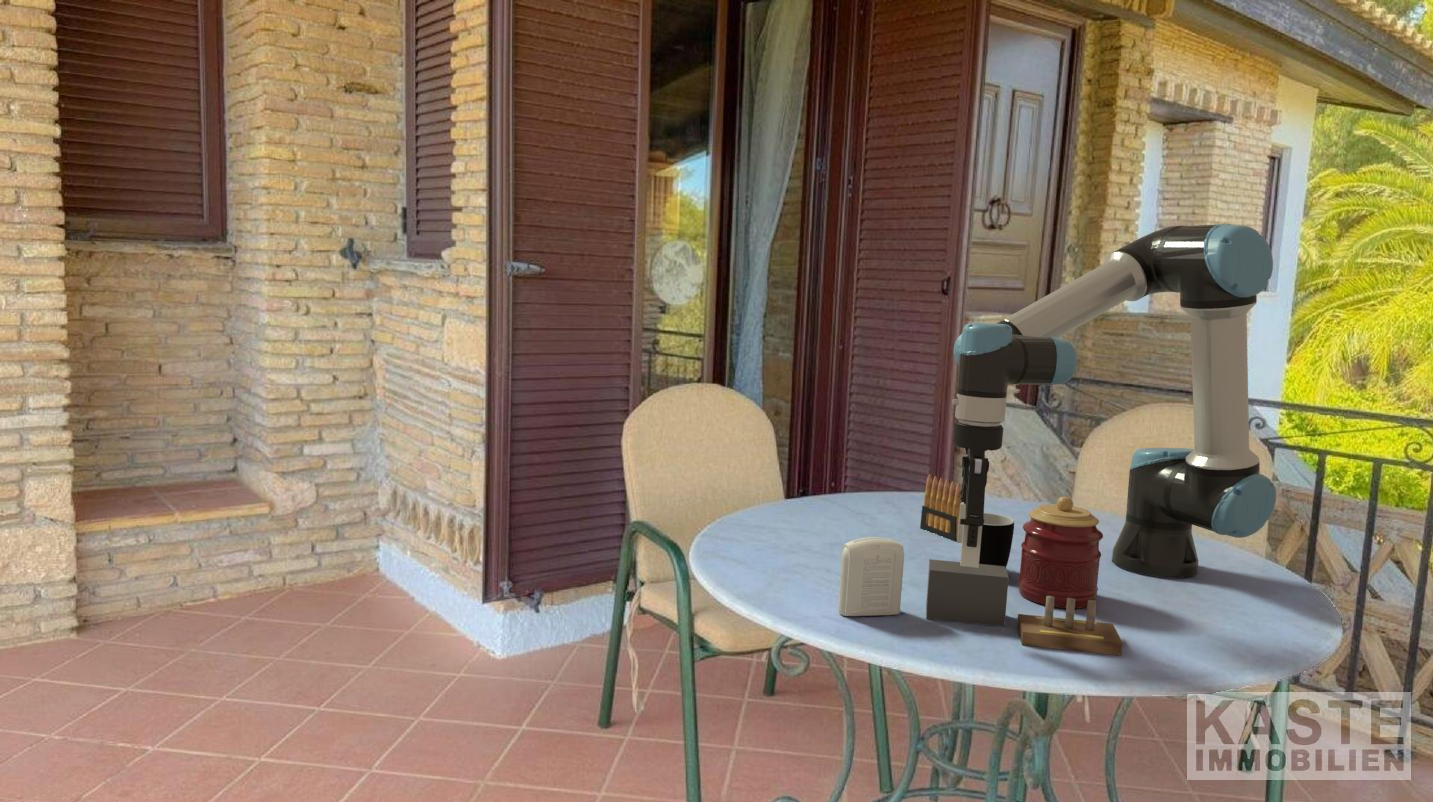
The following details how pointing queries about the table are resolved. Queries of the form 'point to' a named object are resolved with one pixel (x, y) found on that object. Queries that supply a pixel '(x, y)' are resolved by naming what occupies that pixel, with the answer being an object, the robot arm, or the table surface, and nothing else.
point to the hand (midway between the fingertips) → (967, 554)
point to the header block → (1069, 630)
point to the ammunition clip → (941, 508)
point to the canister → (1060, 555)
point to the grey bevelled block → (967, 593)
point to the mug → (996, 539)
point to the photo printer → (871, 577)
